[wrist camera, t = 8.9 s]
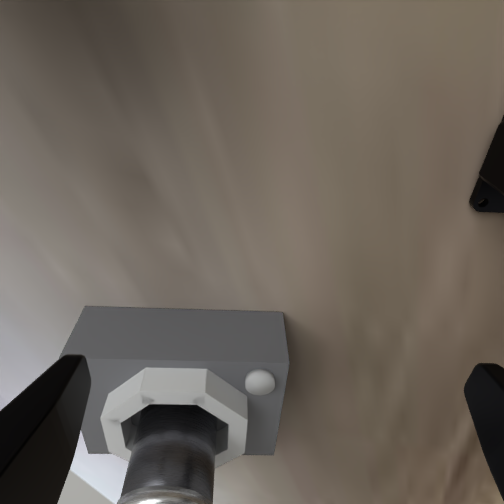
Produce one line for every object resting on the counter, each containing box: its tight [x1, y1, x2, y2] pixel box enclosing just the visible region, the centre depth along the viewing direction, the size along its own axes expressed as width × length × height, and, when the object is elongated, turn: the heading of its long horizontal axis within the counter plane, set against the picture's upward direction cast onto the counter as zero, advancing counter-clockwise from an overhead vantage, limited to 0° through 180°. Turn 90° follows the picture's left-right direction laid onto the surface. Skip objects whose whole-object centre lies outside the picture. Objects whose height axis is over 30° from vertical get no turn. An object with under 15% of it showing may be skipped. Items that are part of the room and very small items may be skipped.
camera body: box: [59, 306, 290, 468], centre depth 24 cm, size 12×9×6 cm
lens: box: [117, 404, 217, 504], centre depth 20 cm, size 5×5×7 cm
